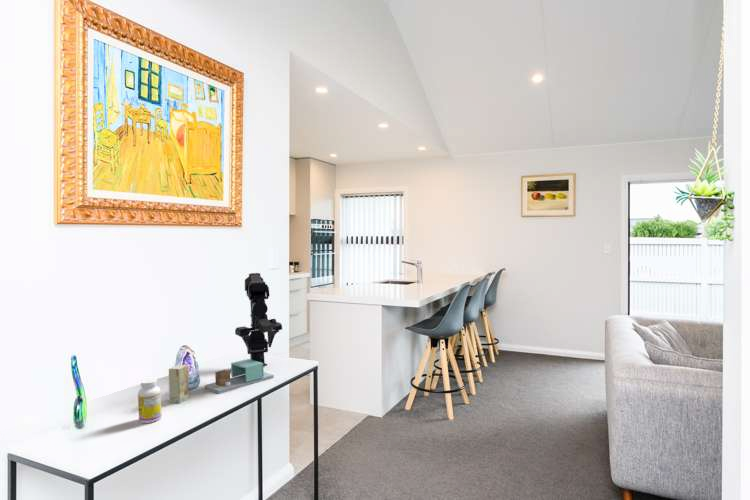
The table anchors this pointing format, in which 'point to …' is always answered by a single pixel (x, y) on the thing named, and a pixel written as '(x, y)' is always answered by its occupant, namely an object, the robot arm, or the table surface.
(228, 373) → the block
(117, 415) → the table surface
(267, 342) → the robot arm
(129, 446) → the table surface
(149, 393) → the supplement bottle
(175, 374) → the skincare box
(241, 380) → the grey flat rectangular block
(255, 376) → the block
